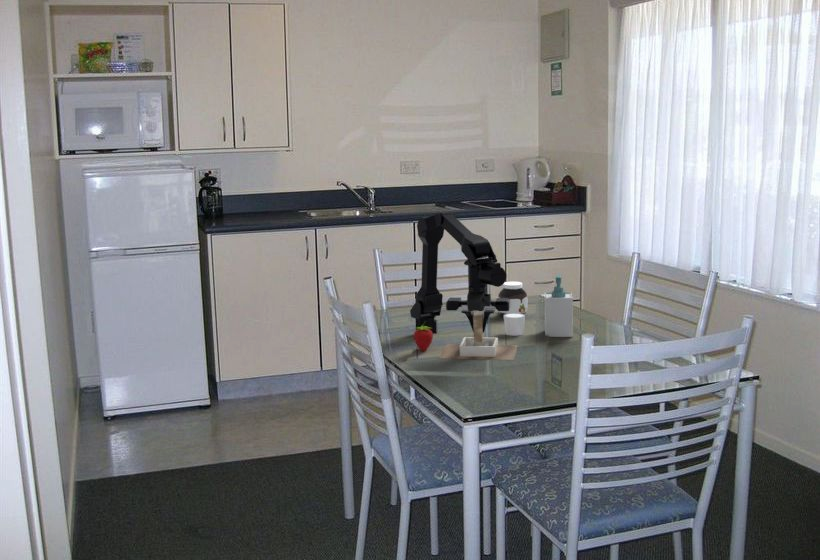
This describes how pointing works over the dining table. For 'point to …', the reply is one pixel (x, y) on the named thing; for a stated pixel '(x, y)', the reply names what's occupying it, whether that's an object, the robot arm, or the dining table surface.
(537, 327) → the dining table surface
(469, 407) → the dining table surface
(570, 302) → the soap bottle
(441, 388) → the dining table surface
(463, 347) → the white rectangular tray
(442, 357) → the brown slab
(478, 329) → the tan cardboard-colored prism
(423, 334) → the strawberry
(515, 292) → the spread jar
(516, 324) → the white cup
